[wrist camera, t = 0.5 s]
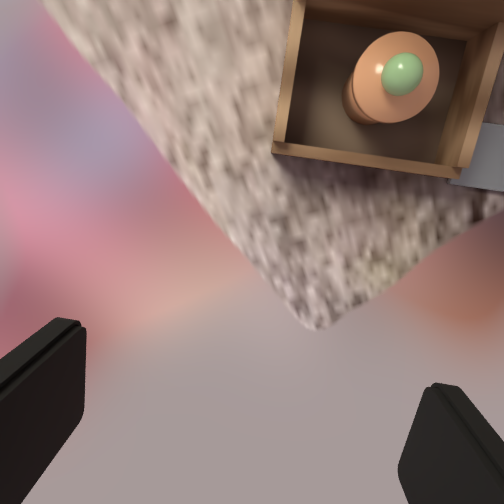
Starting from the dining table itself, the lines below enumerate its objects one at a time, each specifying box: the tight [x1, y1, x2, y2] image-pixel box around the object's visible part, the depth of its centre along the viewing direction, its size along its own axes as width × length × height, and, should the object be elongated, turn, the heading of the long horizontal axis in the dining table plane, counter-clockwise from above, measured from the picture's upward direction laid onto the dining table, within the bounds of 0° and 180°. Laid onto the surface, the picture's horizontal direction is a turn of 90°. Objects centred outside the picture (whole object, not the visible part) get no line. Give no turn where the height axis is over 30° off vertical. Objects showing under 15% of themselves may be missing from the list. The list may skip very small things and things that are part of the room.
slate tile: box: [447, 122, 504, 192], centre depth 34 cm, size 6×6×1 cm
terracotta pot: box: [342, 31, 439, 125], centre depth 28 cm, size 6×6×10 cm
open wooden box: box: [271, 0, 504, 179], centre depth 22 cm, size 20×17×22 cm
